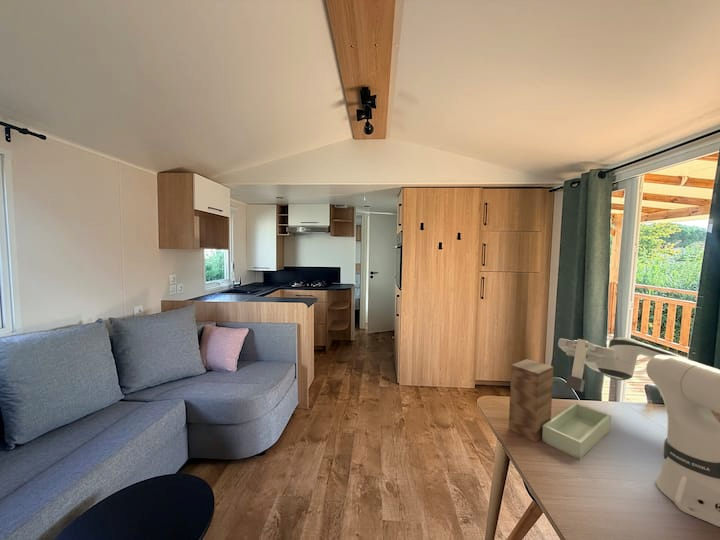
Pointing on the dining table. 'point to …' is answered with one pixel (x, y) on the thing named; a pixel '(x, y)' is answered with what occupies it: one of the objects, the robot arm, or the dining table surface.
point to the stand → (530, 398)
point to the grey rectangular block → (578, 367)
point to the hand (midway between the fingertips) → (581, 343)
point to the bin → (576, 430)
